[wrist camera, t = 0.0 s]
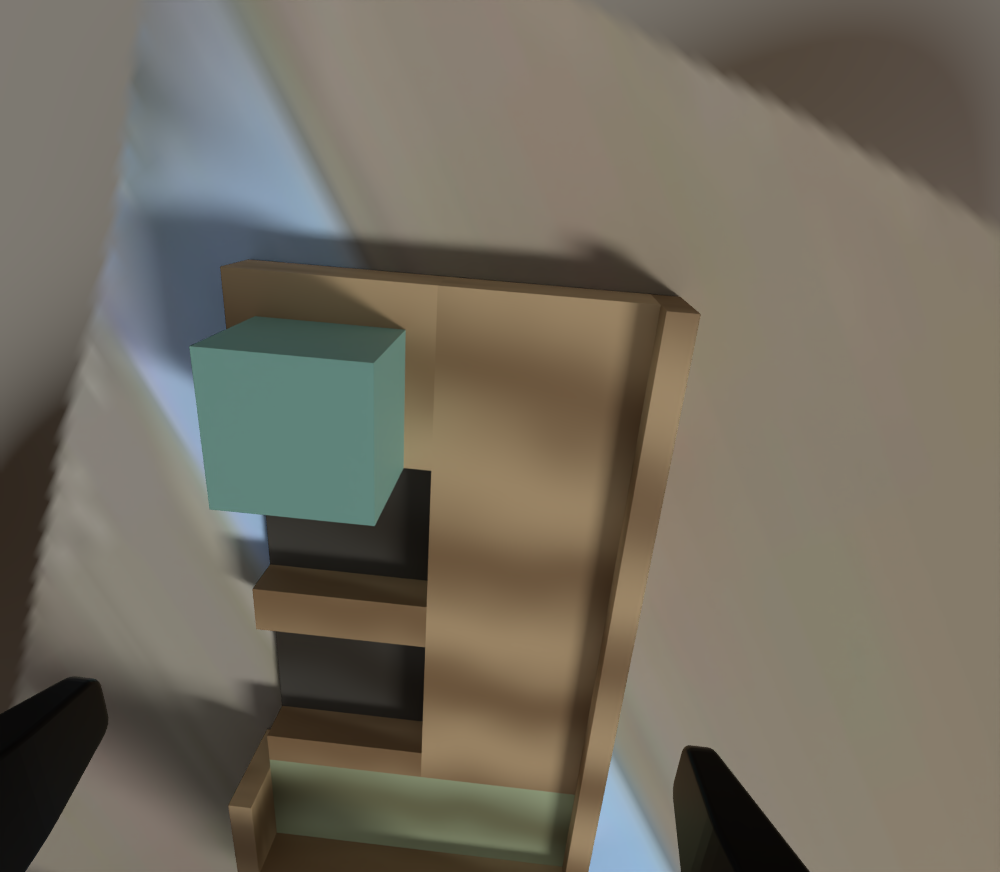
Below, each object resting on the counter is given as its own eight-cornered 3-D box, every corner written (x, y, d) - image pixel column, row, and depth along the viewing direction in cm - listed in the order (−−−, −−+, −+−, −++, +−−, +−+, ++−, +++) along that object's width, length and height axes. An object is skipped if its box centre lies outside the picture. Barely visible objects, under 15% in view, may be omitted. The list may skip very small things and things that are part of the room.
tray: (578, 841, 32) (582, 928, 28) (274, 805, 32) (239, 886, 29) (680, 296, 21) (709, 321, 17) (220, 256, 21) (152, 272, 18)
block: (403, 467, 22) (374, 526, 18) (266, 454, 22) (209, 509, 18) (405, 329, 20) (373, 363, 16) (254, 316, 20) (189, 346, 16)
